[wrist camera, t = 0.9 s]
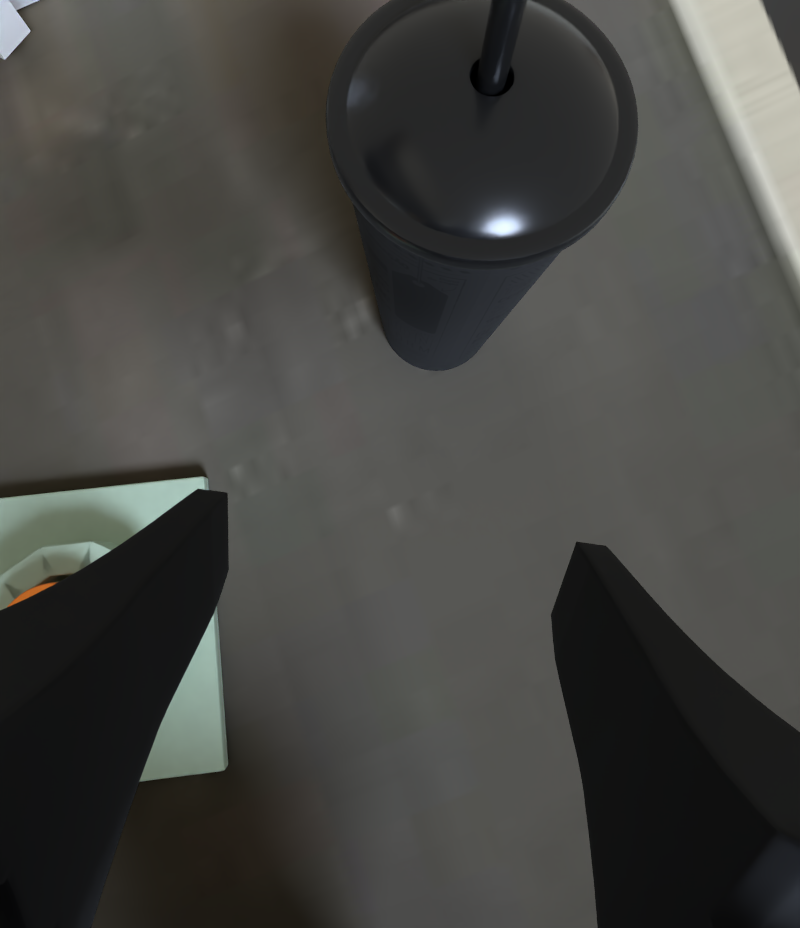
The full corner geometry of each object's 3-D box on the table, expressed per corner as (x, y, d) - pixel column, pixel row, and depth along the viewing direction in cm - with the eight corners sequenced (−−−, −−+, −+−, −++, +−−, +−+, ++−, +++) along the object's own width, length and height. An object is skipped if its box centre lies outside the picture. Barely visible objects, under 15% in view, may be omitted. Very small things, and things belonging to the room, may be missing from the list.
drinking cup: (542, 372, 28) (908, -41, 9) (382, 423, 28) (381, 107, 8) (487, 222, 29) (701, -461, 10) (331, 268, 29) (218, -352, 9)
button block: (228, 765, 26) (212, 787, 23) (-20, 797, 25) (-63, 823, 23) (208, 477, 27) (190, 470, 25) (-25, 502, 27) (-67, 497, 24)
